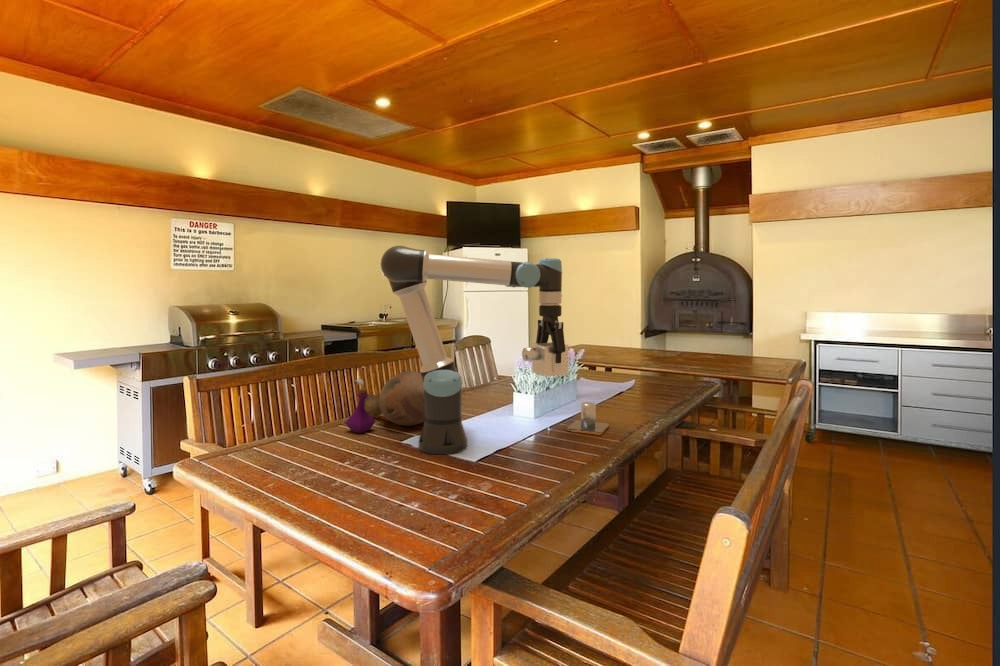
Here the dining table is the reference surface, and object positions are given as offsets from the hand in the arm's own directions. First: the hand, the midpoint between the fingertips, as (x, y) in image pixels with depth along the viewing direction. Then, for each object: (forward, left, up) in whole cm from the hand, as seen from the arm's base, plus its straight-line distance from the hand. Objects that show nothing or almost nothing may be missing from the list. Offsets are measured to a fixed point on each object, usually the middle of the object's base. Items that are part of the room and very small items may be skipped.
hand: (549, 370), depth 175 cm
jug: (-55, -12, -22) cm, 60 cm away
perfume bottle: (-60, -27, -22) cm, 69 cm away
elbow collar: (-2, -2, -1) cm, 3 cm away
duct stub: (+11, +9, -22) cm, 26 cm away
